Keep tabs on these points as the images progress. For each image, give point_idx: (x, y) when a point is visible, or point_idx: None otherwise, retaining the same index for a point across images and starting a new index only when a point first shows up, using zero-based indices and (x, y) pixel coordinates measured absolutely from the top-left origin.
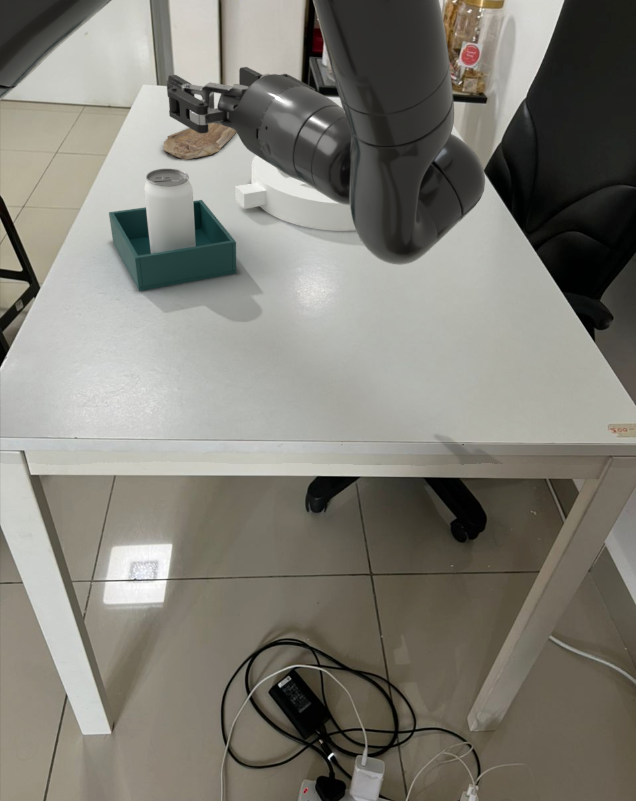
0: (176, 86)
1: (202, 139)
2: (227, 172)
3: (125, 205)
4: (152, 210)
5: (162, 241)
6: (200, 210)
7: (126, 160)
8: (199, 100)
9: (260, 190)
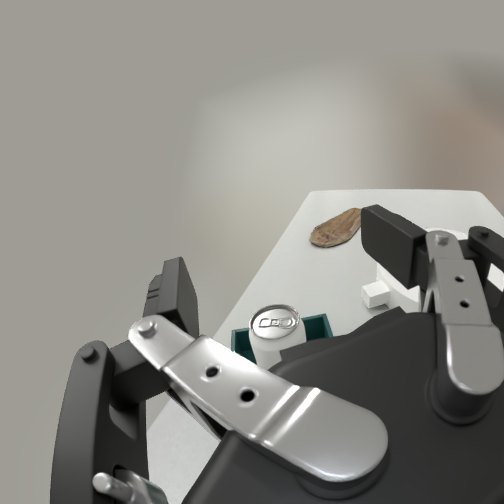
0: (149, 307)
1: (339, 228)
2: (357, 259)
3: (266, 300)
4: (255, 355)
5: None
6: (323, 324)
7: (281, 250)
8: (88, 478)
9: (385, 291)
